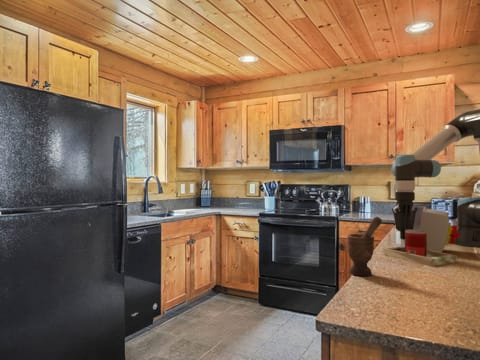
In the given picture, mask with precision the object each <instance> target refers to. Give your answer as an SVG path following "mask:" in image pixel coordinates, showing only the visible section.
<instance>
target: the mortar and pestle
mask: <svg viewBox="0 0 480 360" xmlns="http://www.w3.org/2000/svg"><path fill="white" fill-rule="evenodd" d="M382 222H383V219H381V218H380V217H379V216H375V217H373V218H372V220H371V222H370V223H369V225H368V227H367V229H366V231H365V233H356V232H355V233H350V234H347V253H348V256H349V259H350V260H351V261H352V262H353V264H352V266H350V267H349V270H348V273H349V274H350V275H352V276H357V277H360V276H361V277H369V276H372V275H373V273H372V269H371V268H370V267H369V266H368V264H369V262H370V261H371V260H372V258H373V255H374V251H375V250H374V249H375V245H374V243H375V235H373V234H374V233H375V232H376V231H377V229H378V228H379V227H380V226H381V224H382Z"/></svg>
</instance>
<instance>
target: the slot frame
mask: <svg viewBox="0 0 480 360" xmlns="http://www.w3.org/2000/svg"><path fill="white" fill-rule="evenodd" d="M382 252H383V255H384V256H388V257H391V258H394V259H395V258H396V259H400V260H403V261H404V260H405V261H409V262H412V263H416V264H421V265H425V266H430V267H434V266H440V265H447V264H454V263H457V262H458V255H455V254H452V253H446V252H443V251H442V252H437V251H432V250H430V249H429V250H427V257H424V256H419V255H415V254H410V253H409V252H406V253H405V247H401V246H396V247H389V248H388V247H387V248H383V251H382Z"/></svg>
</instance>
